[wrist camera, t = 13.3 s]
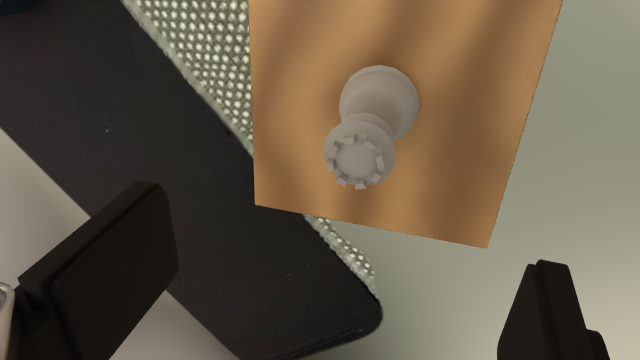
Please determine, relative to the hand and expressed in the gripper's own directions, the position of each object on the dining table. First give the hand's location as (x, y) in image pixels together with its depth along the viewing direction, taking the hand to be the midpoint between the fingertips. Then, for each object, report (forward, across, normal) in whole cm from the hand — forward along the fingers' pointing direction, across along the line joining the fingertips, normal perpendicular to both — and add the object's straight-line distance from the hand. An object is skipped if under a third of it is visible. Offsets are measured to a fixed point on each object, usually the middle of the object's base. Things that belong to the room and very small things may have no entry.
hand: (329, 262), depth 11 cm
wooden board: (+16, +1, +1) cm, 17 cm away
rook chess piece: (+16, +1, +2) cm, 16 cm away
